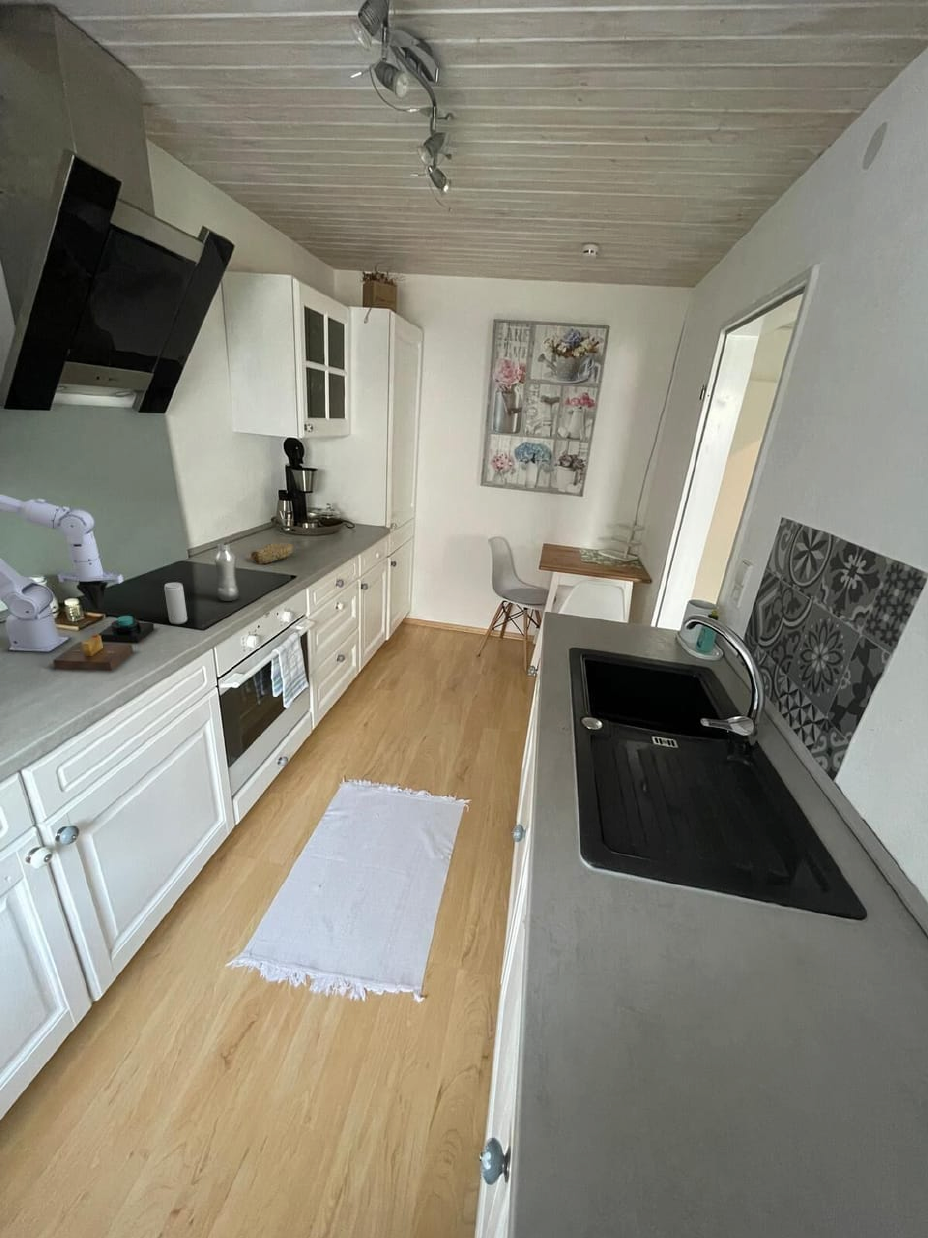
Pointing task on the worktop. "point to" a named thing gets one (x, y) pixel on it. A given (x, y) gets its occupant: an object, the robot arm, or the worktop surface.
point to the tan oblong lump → (272, 552)
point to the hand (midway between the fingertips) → (98, 607)
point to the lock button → (124, 620)
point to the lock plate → (93, 657)
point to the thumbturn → (92, 645)
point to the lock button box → (127, 632)
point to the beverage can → (175, 603)
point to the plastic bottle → (226, 573)
